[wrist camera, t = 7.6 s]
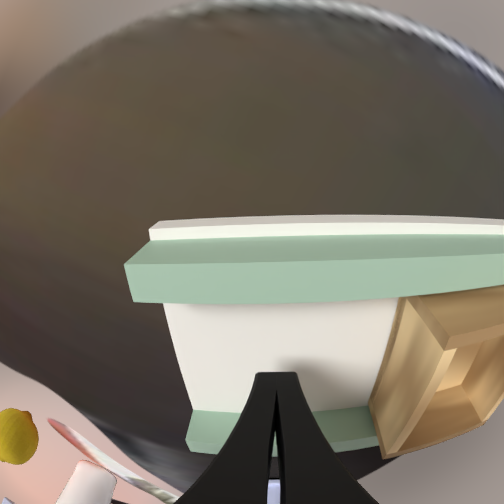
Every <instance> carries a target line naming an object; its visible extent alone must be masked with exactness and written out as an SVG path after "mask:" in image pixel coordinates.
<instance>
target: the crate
mask: <svg viewBox="0 0 504 504" xmlns="http://www.w3.org/2000/svg"><path fill="white" fill-rule="evenodd" d="M503 398H504V284H503V285H496V286H490V287H483V288H476V289H469V290H461V291H453V292H444V293H435V294H426V295H416V296H405V297H399V299H398V303H397V308H396V312H395V316H394V320H393V324H392V328H391V332H390V336H389V339H388V343H387V346H386V350H385V353H384V357H383V360H382V363H381V366H380V369H379V372H378V375H377V378H376V381H375V384H374V387H373V390H372V392H371V395H370V398H369V400H368V406H369V409H370V413H371V416H372V420H373V423H374V427H375V431H376V435H377V438H378V442H379V446H380V450H381V454H382V458H383V459H387V458H391V457H395V456H399V455H403V454H407V453H410V452H413V451H417V450H420V449H424V448H427V447H430V446H432V445H436V444H438V443H441V442H444V441H447V440H449V439H452V438H454V437H457V436H459V435H462V434H464V433H467V432H469V431H471V430H473V429H475V428H478V427H480V426H482V425H484V424H485V422H486V421H487V420H488V418H489V417H490V416H491V415H492V413H493V412H494V411H495V409H496V408H497V407H498V405H499V404H500V402H501V401H502V399H503Z"/></svg>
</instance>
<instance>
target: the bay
mask: <svg viewBox="0 0 504 504" xmlns="http://www.w3.org/2000/svg"><path fill="white" fill-rule="evenodd" d="M149 234H150V240H151V241H149V242H148V243H147V244H146V245H145V246H144V247H143V248H142V249H140V250H139V251H138V252H137V253H136V254H135V255H134V256H133V257H132V258H131V259H129V260H128V261H127V262H126V263H125V264H124V267H125V271H126V275H127V279H128V283H129V287H130V291H131V295H132V298H133V302H148V303H163V305H164V309H165V313H166V317H167V321H168V325H169V329H170V333H171V337H172V341H173V345H174V348H175V352H176V355H177V359H178V362H179V366H180V369H181V372H182V376H183V379H184V382H185V385H186V389H187V392H188V395H189V398H190V401H191V404H192V407H193V413H192V417H191V421H190V425H189V428H188V432H187V436H186V440H185V441H186V443H187V445H188V447H189V449H190V451H193V452H201V453H210V454H218V453H219V451H220V450H221V448H222V447H223V445H224V444H225V442H226V440H227V439H228V437H229V435H230V434H231V432H232V430H233V428H234V427H235V425H236V423H237V421H238V419H239V417H240V415H241V413H242V411H243V409H244V407H245V404H246V402H247V399H248V397H249V394H250V392H251V389H252V386H253V382H254V378H255V374H256V373H258V372H296V373H297V375H298V379H299V382H300V385H301V388H302V391H303V394H304V396H305V398H306V401H307V403H308V405H309V408H310V410H311V412H312V414H313V416H314V418H315V420H316V422H317V424H318V426H319V427H320V429H321V431H322V433H323V434H324V436H325V438H326V439H327V441H328V443H329V444H330V446H331V447H332V449H333V450H334V452H342V451H349V450H356V449H362V448H367V447H373V446H378V445H379V442H378V438H377V435H376V431H375V427H374V423H373V420H372V416H371V413H370V409H369V406H368V400H369V398H370V395H371V392H372V390H373V387H374V384H375V381H376V378H377V375H378V372H379V369H380V366H381V363H382V360H383V357H384V353H385V350H386V346H387V343H388V339H389V336H390V332H391V328H392V324H393V320H394V316H395V312H396V308H397V303H398V299H399V297H405V296H416V295H426V294H435V293H444V292H453V291H461V290H469V289H476V288H483V287H490V286H496V285H503V284H504V220H502V219H486V218H467V217H443V216H410V215H290V216H253V217H227V218H205V219H186V220H169V221H159V222H158V223H156V224H155V225H154V226H152V227H151V228H150V229H149ZM272 456H278V455H277V444H276V434H275V437H274V445H273V453H272Z"/></svg>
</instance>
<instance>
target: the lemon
mask: <svg viewBox="0 0 504 504" xmlns="http://www.w3.org/2000/svg"><path fill="white" fill-rule="evenodd" d="M38 440H39V438H38V431H37V428H36V426H35V424H34V423H33V421H32V416H31V414H30V413H29V412H28V411H20V410H18V409H13V408H9V409H5V410H3V411H2V412H0V461H2V462H8V463H11V464H15V465H19V464H23V463H25V462H27V461H28V460H29V459H30V458H31V457H32V456H33V455H34V453H35V451H36V449H37V446H38Z"/></svg>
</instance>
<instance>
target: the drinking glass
mask: <svg viewBox="0 0 504 504" xmlns="http://www.w3.org/2000/svg"><path fill="white" fill-rule="evenodd" d="M116 483H117V480H116V477H115V476H114V475H113V474H112V473H110V472H109V471H107V470H106V469H104V468H102V467H100V466H98V465H96V464H94V463H92V462H89V461H86V460H81V461H79V462H78V464H77V466H76V468H75V471H74V472H73V474H72V476H71V478H70V479H69V481H68V483H67V484H66V486H65V488H64V489H63V491H62V493H61V494H60V496H59V498H58V500H57V501H56V503H55V504H111V500H112V495H113V491H114V489H115V486H116Z"/></svg>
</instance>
